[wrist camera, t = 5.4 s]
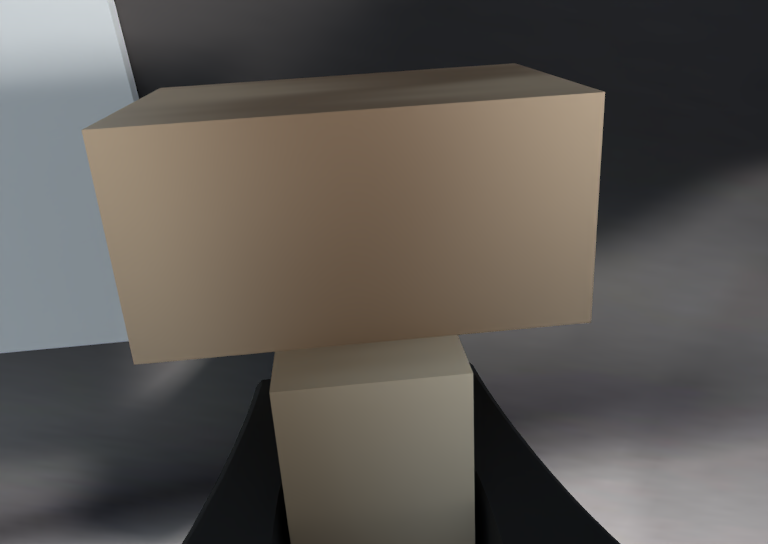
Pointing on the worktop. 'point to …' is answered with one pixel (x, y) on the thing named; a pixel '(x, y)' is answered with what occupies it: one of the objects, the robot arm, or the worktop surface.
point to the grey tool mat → (56, 172)
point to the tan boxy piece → (355, 262)
